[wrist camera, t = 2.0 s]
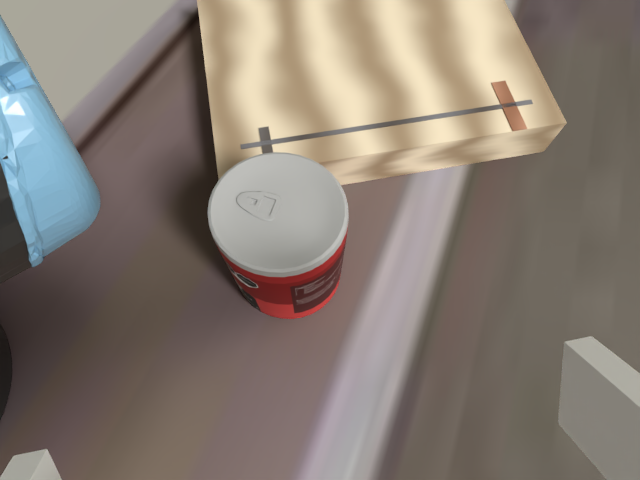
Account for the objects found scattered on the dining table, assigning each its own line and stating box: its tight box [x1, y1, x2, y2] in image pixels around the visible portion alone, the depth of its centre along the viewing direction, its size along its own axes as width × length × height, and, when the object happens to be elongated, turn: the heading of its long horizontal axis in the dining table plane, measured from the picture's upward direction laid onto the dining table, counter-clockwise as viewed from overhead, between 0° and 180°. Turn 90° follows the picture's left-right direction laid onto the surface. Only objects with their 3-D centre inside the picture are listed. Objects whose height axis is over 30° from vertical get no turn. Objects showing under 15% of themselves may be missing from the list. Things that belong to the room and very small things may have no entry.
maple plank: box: [197, 0, 567, 185], centre depth 40 cm, size 28×20×4 cm
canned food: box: [208, 152, 349, 319], centre depth 30 cm, size 8×8×11 cm
